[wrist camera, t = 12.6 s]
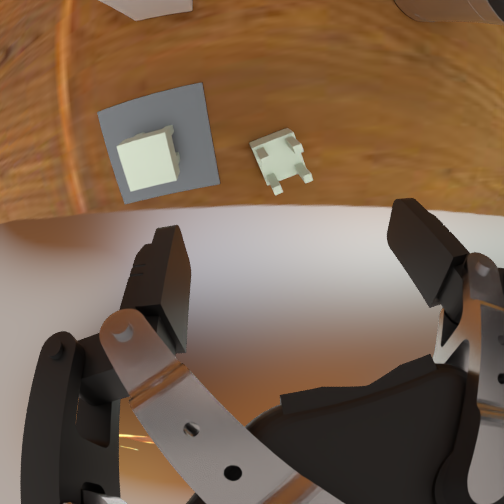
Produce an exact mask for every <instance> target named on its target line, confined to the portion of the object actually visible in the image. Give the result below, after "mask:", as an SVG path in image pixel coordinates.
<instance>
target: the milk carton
mask: <svg viewBox="0 0 504 504" xmlns="http://www.w3.org/2000/svg"><path fill="white" fill-rule="evenodd" d="M99 1H101V2H103V3H105V4H107V5H109V6H111V7H112V8H114V9H116V10H118V11H120V12H121V13H123V14H125V15H127V16H128V17H130V18H132V19H133V20H135V21H139V20H143V19H148V18H153V17H158V16H163V15H169V14H175V13H182V12H189V11H192V0H99Z"/></svg>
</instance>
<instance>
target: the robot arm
mask: <svg viewBox="0 0 504 504" xmlns="http://www.w3.org/2000/svg"><path fill="white" fill-rule="evenodd" d="M394 1H395V3H396V4H397V5H398V7H399V8H400V9H401V10H402V11H403V12H404V13H405V14H406V15H407V16H409V17H410V18H412V19H414V20H416V21H420V22H437V21H456V22H478V23H489V24H498V25H504V0H394ZM387 241H388V245H389V247H390V249H391V250H392V251H393V253H394V254H395V256H396V257H397V259H398V260H399V261H400V263H401V264H402V266H403V267H404V269H405V270H406V272H407V273H408V275H409V276H410V278H411V279H412V281H413V282H414V284H415V285H416V287H417V288H418V290H419V291H420V293H421V294H422V296H423V298H424V299H425V301H426V303H427V304H428V306H429V307H430V308H431V307H434V306H436V305H440V304H441V305H442V306H443V307H442V309H441V311H440V314H439V323H438V332H437V340H436V346H435V352H434V356H433V359H432V357H431V355H430V354H429V355H426V356H424V357H421V358H418V359H416V360H413V361H410V362H407V363H405V364H402V365H399V366H398V367H397V368H395V369H394V370H392V371H391V372H389V373H387V374H386V375H384V376H383V377H381V378H380V379H378V380H377V381H375V382H373V383H372V384H370V385H367V386H359V387H320V388H315V389H310V390H305V391H300V392H294V393H289V394H283V395H280V405H278V406H275V407H273V408H271V409H269V410H267V411H265V412H263V413H262V414H260V415H259V416H257V417H256V418H254V419H253V420H252V421H251V422H250V423H248V424H247V425H246V426H245V427H244V426H243V425H242V424H240V423H239V422H238V421H237V420H236V419H235V418H234V417H233V416H232V415H231V414H230V413H229V412H228V411H227V410H226V409H225V408H224V407H223V406H222V405H221V404H220V403H219V402H218V401H217V400H216V399H215V397H214V396H213V395H212V394H211V393H210V392H209V391H208V390H207V389H206V388H205V387H204V386H203V385H202V384H201V382H200V381H199V380H198V379H197V378H196V377H195V376H194V375H193V374H192V372H190V370H189V369H188V368H187V367H186V366H185V365H184V364H183V363H182V364H181V363H180V362H179V361H178V360H177V358H176V357H175V354H176V353H186V344H187V325H188V310H189V295H190V283H191V267H190V262H189V257H188V254H187V251H186V248H185V244H184V241H183V237H182V234H181V231H180V228H179V226H178V225H174V226H168V227H162V228H157V229H156V231H155V235H154V238H153V241H152V244H146V245H144V246H143V247H142V249H141V250H140V251H139V252H138V254H137V255H136V257H135V260H134V264H133V268H132V269H131V273H130V277H129V279H128V282H127V285H126V289H125V292H124V296H123V299H122V303H121V306H120V310H119V311H117V312H115V313H113V314H112V315H110V316H109V317H108V318H107V319H106V320H105V321H104V323H103V324H102V326H101V329H100V333H98V334H95V335H93V336H90V337H87V338H84V339H81V340H79V341H77V340H76V339H75V338H74V337H73V336H72V335H71V334H70V333H68V332H65V331H63V332H58V333H55V334H53V335H52V336H51V337H49V338H48V339H47V341H46V342H45V343H44V345H43V347H42V350H41V352H40V355H39V359H38V363H37V366H36V370H35V374H34V379H33V383H32V387H31V392H30V397H29V402H28V407H27V413H26V420H25V427H24V435H23V444H22V456H21V504H127V503H126V502H125V501H123V500H122V499H121V498H120V483H119V414H120V399H122V398H126V397H129V396H130V397H131V399H130V400H129V404H130V406H131V408H132V410H133V411H134V413H135V415H136V416H137V418H138V419H139V421H140V422H141V424H142V425H143V427H144V428H145V430H146V431H147V433H148V434H149V436H150V437H151V438H152V440H153V441H154V443H155V444H156V445H157V447H158V448H159V449H160V451H161V452H162V453H163V455H164V456H165V457H166V458H167V460H168V461H169V462H170V463H171V464H172V466H173V467H174V468H175V470H176V471H177V472H178V473H179V474H180V475H181V477H183V479H184V480H185V481H186V482H187V483H188V484H189V486H190V487H191V488H192V489H193V490H194V491H195V493H194V495H193V496H192V497H191V498H190V500H189V501H188V502H187V503H186V504H504V268H497V266H496V265H495V263H494V262H493V261H492V260H491V259H490V258H489V257H487V256H485V255H483V254H481V253H476V252H474V253H471V254H470V253H469V252H468V250H467V249H466V248H465V247H464V246H463V245H462V244H461V243H460V241H458V239H457V238H456V237H455V236H454V235H453V234H452V233H451V232H449V230H448V229H447V228H446V227H445V226H444V225H443V224H442V222H441V221H440V220H438V218H436V216H434V215H433V214H431V213H429V212H428V211H427V210H426V209H425V208H424V207H423V206H422V205H421V204H420V203H419V202H417V201H416V200H415V199H414V198H404V199H396V200H395V201H394V203H393V207H392V212H391V217H390V222H389V226H388V231H387ZM78 398H79V402H78ZM77 405H78V410H77ZM76 414H77V420H76Z"/></svg>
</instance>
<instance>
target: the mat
mask: <svg viewBox="0 0 504 504" xmlns="http://www.w3.org/2000/svg"><path fill="white" fill-rule="evenodd" d="M97 114H98V118H99V122H100V126H101V129H102V133H103V137H104V140H105V144H106V147H107V151H108V154H109V158H110V161H111V164H112V167H113V170H114V174H115V177H116V180H117V183H118V186H119V189H120V192H121V195H122V197H123V200H124V203H125V204H128V203H132V202H136V201H141V200H145V199H149V198H153V197H158V196H162V195H167V194H172V193H176V192H181V191H186V190H191V189H196V188H201V187H206V186H212V185H217V184H220V180H219V174H218V169H217V164H216V158H215V153H214V147H213V142H212V136H211V130H210V125H209V119H208V113H207V107H206V102H205V96H204V90H203V84H202V83H197V84H192V85H187V86H183V87H178V88H174V89H170V90H166V91H162V92H158V93H154V94H151V95H147V96H144V97H140V98H137V99H134V100H131V101H128V102H125V103H122V104H119V105H116V106H113V107H110V108H107V109H105V110H102V111H99V112H97ZM169 125H173V129H174V133H173V134H172V135H171V136H172V140H173V144H174V149H175V153H177V152H179V155H180V161H179V164H178V165H179V169H180V173H179V175H178V178H177V181H172V182H168V183H164V184H159V185H155V186H151V187H147V188H143V189H139V190H135V191H130V188H129V185H128V182H127V179H126V176H125V173H124V170H123V167H122V164H121V160H120V157H119V154H118V150H117V147H116V146H117V145H119V144H120V143H121V142H122V141H124V140H125V139H128V138H132V137H134V136H135V135H137V134H139V133H143V132H144V133H149V132H152V131H156V130H160V129H163V128H164V127H165V126H169Z"/></svg>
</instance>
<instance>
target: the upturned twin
mask: <svg viewBox="0 0 504 504" xmlns="http://www.w3.org/2000/svg"><path fill="white" fill-rule="evenodd" d="M249 144H250V146H251V148H252V151H253V153H254V155H255V158H256V160H257V162H258V165H259V167H260V169H261V172H262V174H263V176H264V179H265V181H266V183H267V185H271V187H272V190H273V192H274V194H275V195H277V194H280V193H282V192H283V190H282V188H281V185H280V183H279V181H280V180H283V179H286V178H288V177H291V176H293V175H296V174H299V176H300V177H301V178H302V180H303V181H304V182H305V183H308V182H311V181H313V178H312V175H311V173H310V172H309V170H308V169H307V168H306V166H305V163H304V160H303V157H302V155H301V152H304V151H303V148H302V145H301V143H300V142H299V141H298V140H296V137H295V135H294V132H293V131H292V130H290V129H289V128H286V129H283V130H280V131H278V132H275V133H272V134H270V135H267V136H265V137H262V138H260V139H257V140H255V141H252V142H250V143H249Z"/></svg>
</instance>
